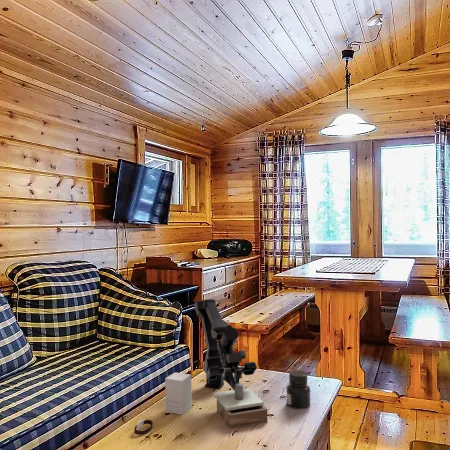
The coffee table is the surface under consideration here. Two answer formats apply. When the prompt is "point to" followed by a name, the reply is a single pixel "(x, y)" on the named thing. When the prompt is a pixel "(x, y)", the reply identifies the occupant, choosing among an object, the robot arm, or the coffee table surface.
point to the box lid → (238, 398)
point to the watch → (141, 426)
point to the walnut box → (243, 415)
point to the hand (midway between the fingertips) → (237, 392)
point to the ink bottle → (298, 390)
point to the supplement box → (178, 393)
